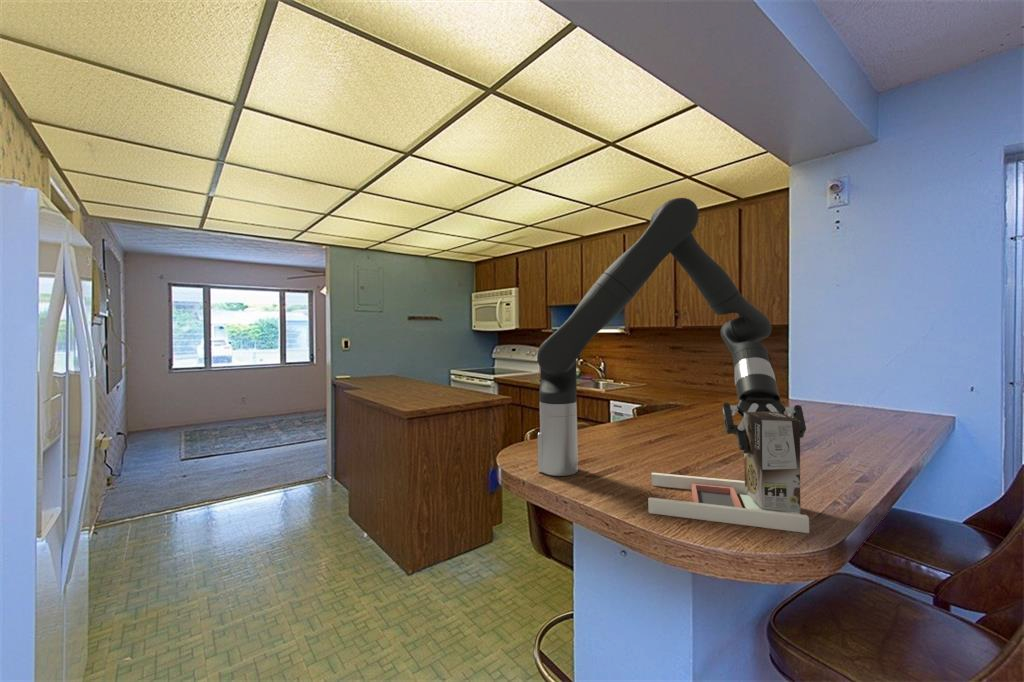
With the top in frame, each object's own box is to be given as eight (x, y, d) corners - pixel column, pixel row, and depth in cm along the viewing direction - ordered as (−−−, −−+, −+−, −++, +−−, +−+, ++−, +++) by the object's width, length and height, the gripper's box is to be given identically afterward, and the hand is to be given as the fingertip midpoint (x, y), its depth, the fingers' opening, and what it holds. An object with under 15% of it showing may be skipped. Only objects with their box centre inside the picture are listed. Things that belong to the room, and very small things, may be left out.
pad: (750, 520, 72) (750, 518, 72) (739, 496, 83) (739, 494, 83) (809, 527, 69) (809, 525, 69) (789, 501, 80) (789, 499, 80)
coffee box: (802, 512, 71) (801, 420, 71) (761, 510, 72) (761, 419, 72) (779, 493, 80) (778, 411, 80) (743, 491, 81) (742, 410, 81)
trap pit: (695, 515, 74) (694, 506, 74) (691, 490, 87) (691, 483, 87) (744, 521, 72) (744, 512, 72) (733, 494, 84) (733, 487, 84)
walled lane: (648, 513, 76) (648, 499, 76) (652, 483, 91) (651, 472, 91) (809, 533, 67) (808, 518, 67) (783, 496, 82) (782, 484, 82)
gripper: (719, 372, 87) (727, 439, 76) (798, 372, 82) (819, 445, 71) (717, 393, 92) (724, 459, 81) (791, 395, 87) (810, 466, 76)
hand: (769, 452), depth 76 cm, fingers closed on coffee box, 7 cm apart
